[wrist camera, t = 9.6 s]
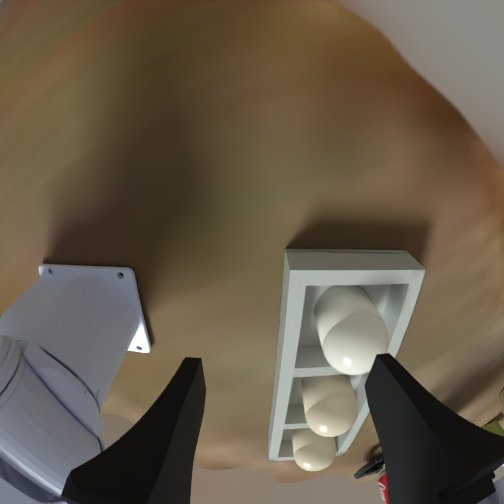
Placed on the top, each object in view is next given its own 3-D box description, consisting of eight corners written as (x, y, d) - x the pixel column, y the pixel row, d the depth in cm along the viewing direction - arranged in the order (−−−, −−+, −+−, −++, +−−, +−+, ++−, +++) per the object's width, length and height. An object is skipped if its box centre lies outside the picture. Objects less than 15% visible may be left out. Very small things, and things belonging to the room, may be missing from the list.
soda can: (373, 472, 37) (385, 528, 25) (409, 457, 36) (426, 512, 24) (379, 479, 40) (390, 529, 28) (412, 465, 38) (426, 515, 26)
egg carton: (267, 440, 29) (268, 485, 23) (284, 248, 19) (297, 304, 13) (339, 435, 29) (348, 477, 23) (406, 250, 19) (452, 297, 13)
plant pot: (475, 441, 38) (487, 467, 30) (461, 441, 36) (473, 472, 28) (505, 415, 35) (519, 441, 27) (495, 413, 33) (510, 443, 25)
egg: (309, 333, 21) (322, 392, 16) (317, 283, 19) (336, 340, 14) (363, 330, 21) (386, 384, 16) (375, 282, 19) (409, 333, 14)
